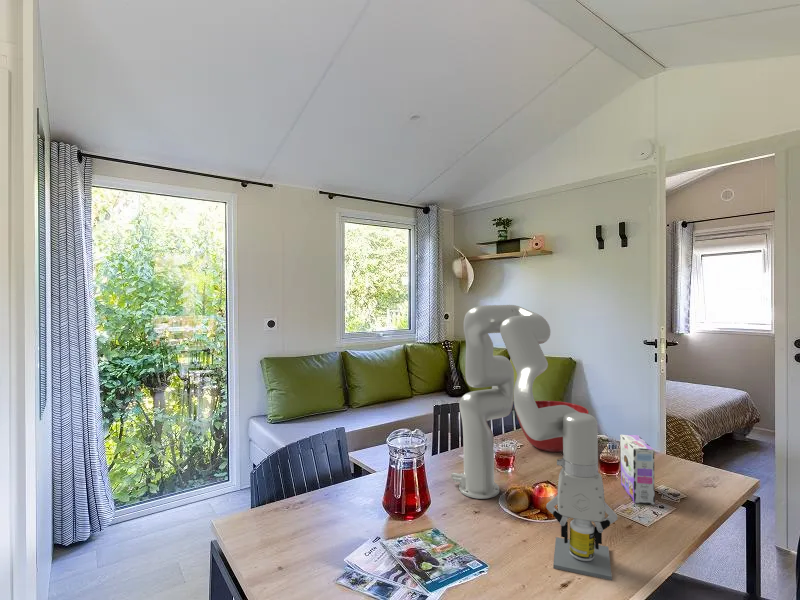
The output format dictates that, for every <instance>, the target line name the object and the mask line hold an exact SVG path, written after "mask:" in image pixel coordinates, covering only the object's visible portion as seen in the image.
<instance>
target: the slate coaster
mask: <svg viewBox="0 0 800 600" xmlns="http://www.w3.org/2000/svg"><path fill="white" fill-rule="evenodd" d="M609 549H610V548H609V546H608V545H607V546H606V545H602V544H599V550H598V549H596V548H595V546H594V558H593V559H592V560H591V561H582V560H578V559H576V558H574V557H573V556H572V555H571V554H570V538H569V539H568V543H564V537H558V536H556V537H555V543H554V551H553V552H554V553H553V563H552V566H553V569H556V570H561V571H565V572H571V573H575V574H579V575H584V576H590V577H594V578H598V579H603V580H609V581H612V580H613V574H612V566H611V558H610V550H609Z"/></svg>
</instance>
